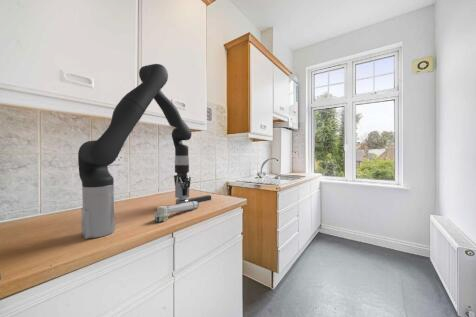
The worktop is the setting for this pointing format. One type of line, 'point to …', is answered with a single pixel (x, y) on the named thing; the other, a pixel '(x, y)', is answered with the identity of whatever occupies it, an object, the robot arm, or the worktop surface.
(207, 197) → the ratchet
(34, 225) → the worktop surface
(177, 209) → the grey cylindrical tool
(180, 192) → the socket
